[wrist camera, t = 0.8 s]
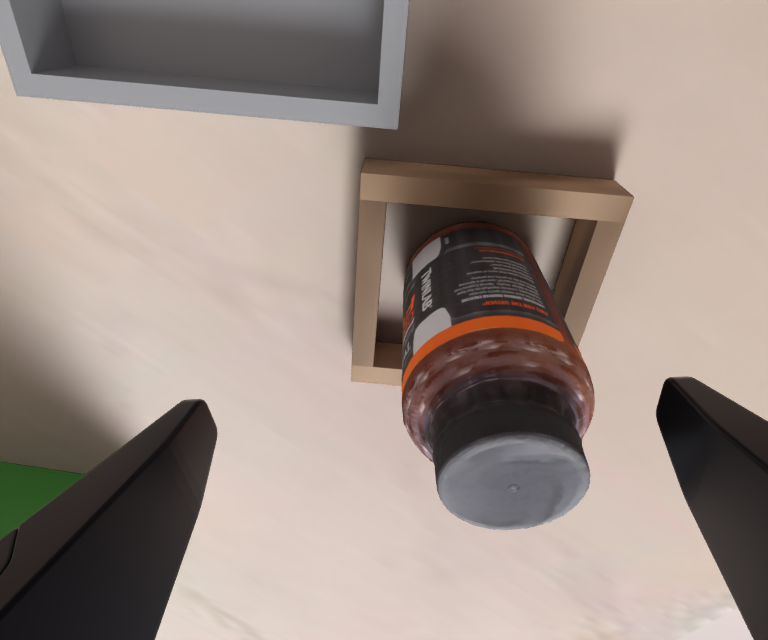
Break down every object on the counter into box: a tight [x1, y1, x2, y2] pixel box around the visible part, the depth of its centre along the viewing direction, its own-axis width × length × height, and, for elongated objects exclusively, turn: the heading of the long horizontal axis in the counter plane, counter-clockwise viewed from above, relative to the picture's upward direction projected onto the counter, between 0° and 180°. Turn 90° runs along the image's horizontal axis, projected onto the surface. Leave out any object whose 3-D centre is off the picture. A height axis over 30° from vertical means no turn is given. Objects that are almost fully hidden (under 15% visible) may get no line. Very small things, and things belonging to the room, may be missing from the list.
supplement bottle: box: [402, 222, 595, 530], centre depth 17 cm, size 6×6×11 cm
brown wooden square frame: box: [351, 158, 634, 386], centre depth 21 cm, size 10×10×2 cm
